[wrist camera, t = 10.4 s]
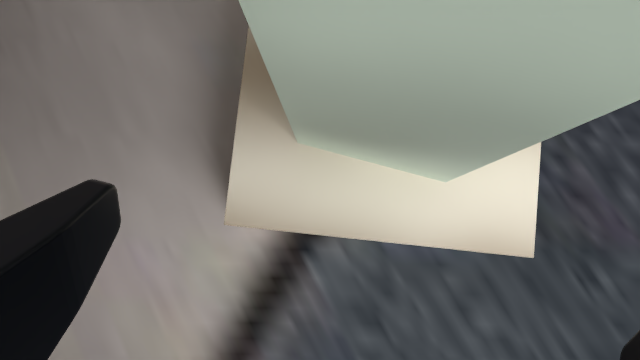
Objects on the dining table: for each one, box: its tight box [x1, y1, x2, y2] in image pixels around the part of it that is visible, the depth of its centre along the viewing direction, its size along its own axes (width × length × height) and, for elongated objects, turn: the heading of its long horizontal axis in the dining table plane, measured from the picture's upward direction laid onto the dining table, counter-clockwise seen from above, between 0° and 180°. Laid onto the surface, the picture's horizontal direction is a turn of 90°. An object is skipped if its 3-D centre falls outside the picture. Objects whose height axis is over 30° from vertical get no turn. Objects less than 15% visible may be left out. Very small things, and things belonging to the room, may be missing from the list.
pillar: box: [238, 0, 640, 182], centre depth 10 cm, size 5×5×13 cm
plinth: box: [224, 25, 541, 258], centre depth 18 cm, size 10×10×3 cm
